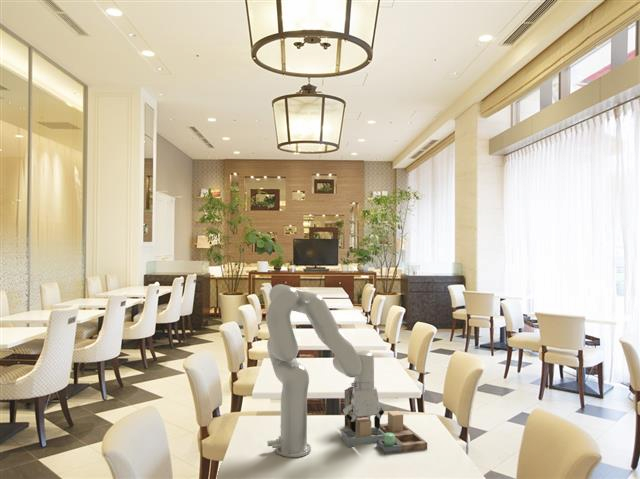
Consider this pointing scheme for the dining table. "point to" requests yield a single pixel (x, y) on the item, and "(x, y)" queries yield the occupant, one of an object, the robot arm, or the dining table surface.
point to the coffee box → (348, 402)
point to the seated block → (395, 421)
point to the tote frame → (361, 440)
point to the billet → (363, 427)
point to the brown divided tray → (406, 438)
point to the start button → (389, 439)
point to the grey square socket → (389, 447)
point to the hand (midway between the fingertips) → (365, 429)
